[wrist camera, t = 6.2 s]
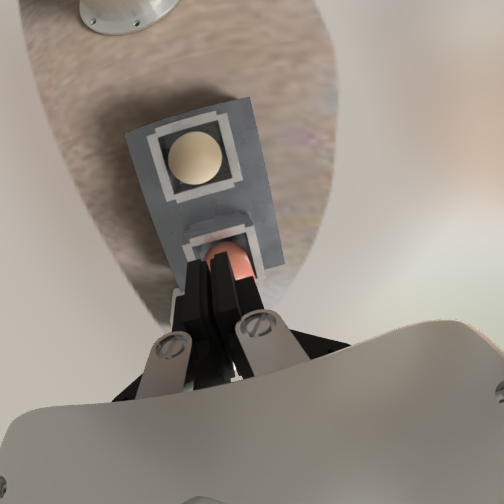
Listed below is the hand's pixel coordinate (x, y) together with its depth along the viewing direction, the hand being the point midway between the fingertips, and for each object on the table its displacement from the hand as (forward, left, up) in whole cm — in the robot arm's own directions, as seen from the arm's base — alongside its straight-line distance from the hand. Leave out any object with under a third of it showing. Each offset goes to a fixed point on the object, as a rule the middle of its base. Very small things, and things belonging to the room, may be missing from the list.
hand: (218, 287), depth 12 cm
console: (+1, 0, -22) cm, 22 cm away
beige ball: (-4, 0, -16) cm, 17 cm away
